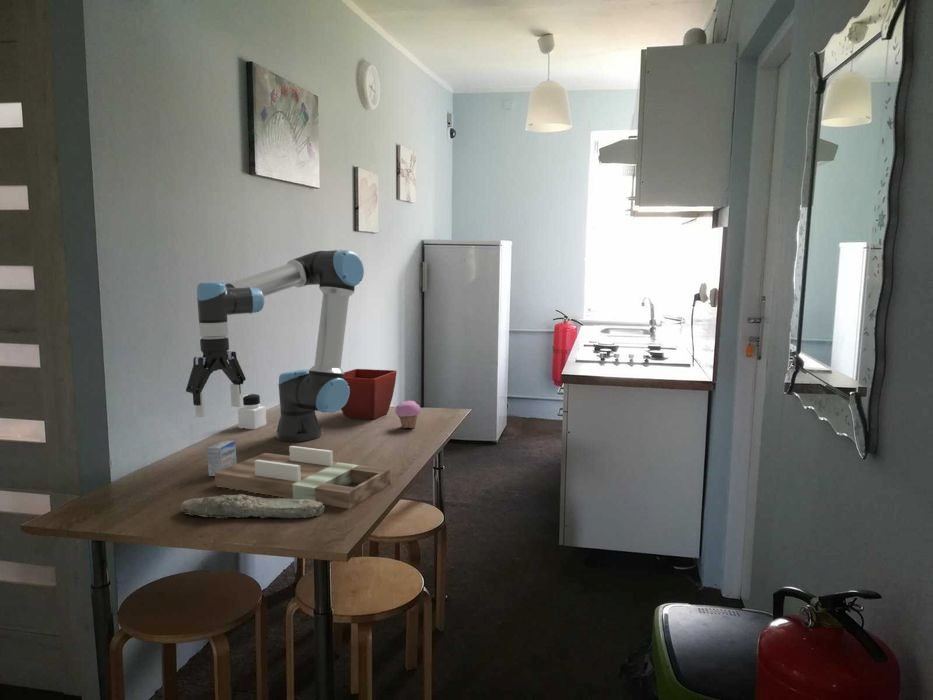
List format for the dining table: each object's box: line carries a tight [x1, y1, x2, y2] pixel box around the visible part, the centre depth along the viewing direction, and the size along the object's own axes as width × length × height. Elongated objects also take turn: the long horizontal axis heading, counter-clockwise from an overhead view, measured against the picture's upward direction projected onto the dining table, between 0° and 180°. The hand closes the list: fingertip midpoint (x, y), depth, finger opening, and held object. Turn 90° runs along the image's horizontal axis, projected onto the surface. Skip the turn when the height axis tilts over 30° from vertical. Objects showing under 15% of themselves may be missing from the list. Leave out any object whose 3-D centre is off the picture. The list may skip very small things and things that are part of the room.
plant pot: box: [340, 368, 398, 421], centre depth 260 cm, size 19×19×17 cm
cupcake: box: [395, 400, 421, 429], centre depth 240 cm, size 9×9×10 cm
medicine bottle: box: [237, 393, 267, 430], centre depth 245 cm, size 7×7×12 cm
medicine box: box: [206, 440, 238, 477], centre depth 192 cm, size 8×4×9 cm, turn 168°
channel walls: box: [255, 445, 334, 482], centre depth 181 cm, size 15×14×4 cm
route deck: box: [214, 452, 392, 510], centre depth 180 cm, size 20×43×4 cm, turn 66°
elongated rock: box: [179, 493, 325, 519], centre depth 161 cm, size 35×5×10 cm
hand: (218, 411), depth 190 cm, fingers open, 13 cm apart
